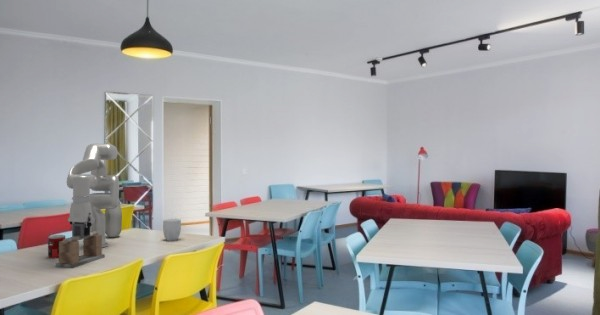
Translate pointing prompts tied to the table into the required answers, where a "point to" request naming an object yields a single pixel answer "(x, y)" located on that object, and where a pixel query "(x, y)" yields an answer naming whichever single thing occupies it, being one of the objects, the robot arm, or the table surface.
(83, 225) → the dark grey block
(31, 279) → the table surface
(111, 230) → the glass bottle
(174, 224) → the mug
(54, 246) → the canned food
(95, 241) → the rod stand
